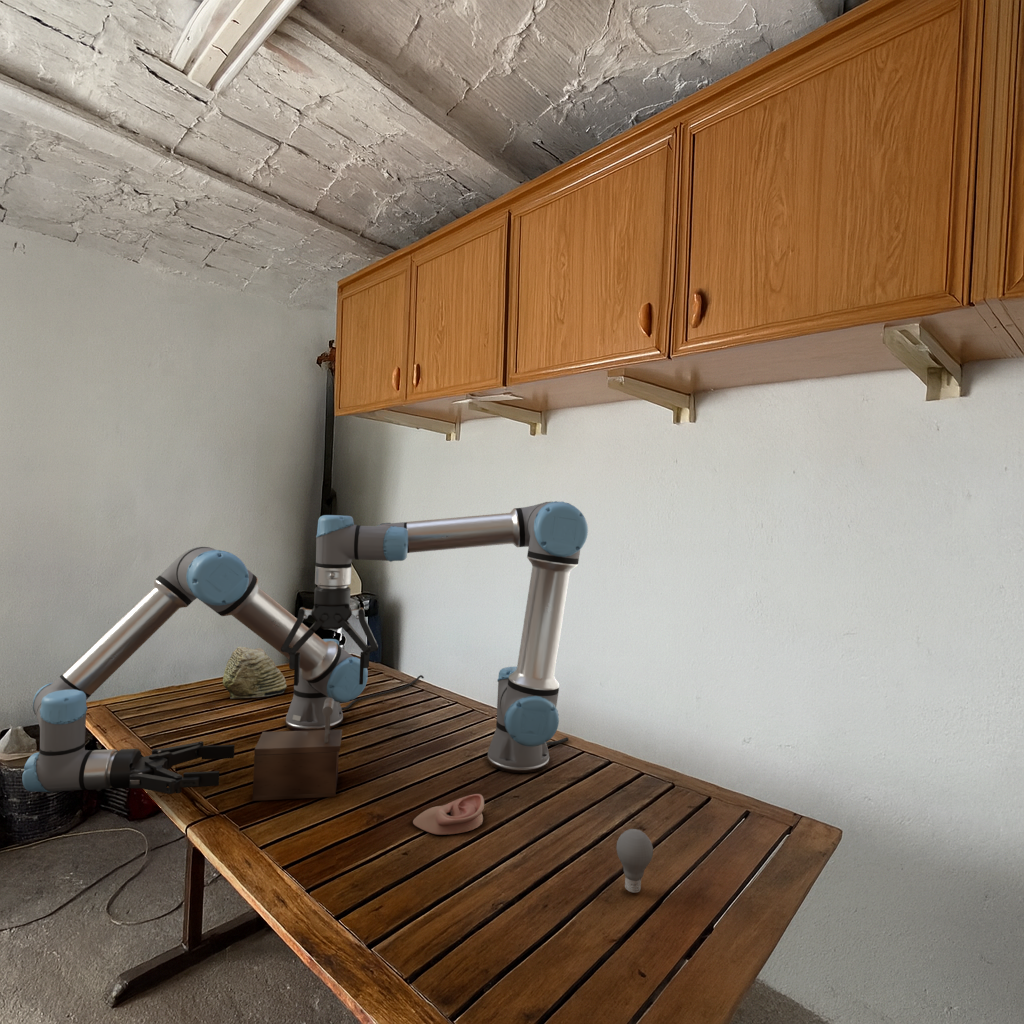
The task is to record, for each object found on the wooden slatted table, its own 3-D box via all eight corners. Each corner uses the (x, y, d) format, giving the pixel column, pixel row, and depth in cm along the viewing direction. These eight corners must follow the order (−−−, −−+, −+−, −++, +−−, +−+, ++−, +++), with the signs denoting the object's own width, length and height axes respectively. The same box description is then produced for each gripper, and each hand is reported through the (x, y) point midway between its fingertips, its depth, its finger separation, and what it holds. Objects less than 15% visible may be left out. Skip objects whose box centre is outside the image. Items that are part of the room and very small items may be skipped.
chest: (337, 776, 144) (339, 735, 143) (335, 796, 134) (337, 752, 134) (260, 780, 140) (262, 737, 140) (252, 801, 131) (254, 755, 130)
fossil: (218, 695, 195) (220, 647, 195) (278, 685, 208) (279, 640, 207) (228, 703, 189) (230, 653, 188) (289, 692, 201) (290, 645, 201)
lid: (342, 734, 144) (343, 694, 143) (339, 751, 134) (341, 708, 134) (262, 737, 140) (264, 696, 140) (254, 755, 130) (255, 711, 130)
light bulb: (610, 879, 108) (613, 822, 108) (644, 879, 109) (647, 822, 109) (619, 902, 102) (622, 840, 102) (655, 901, 103) (658, 840, 103)
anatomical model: (407, 809, 121) (427, 784, 133) (406, 830, 121) (426, 802, 133) (474, 819, 119) (489, 792, 130) (473, 840, 119) (488, 811, 130)
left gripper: (137, 761, 141) (238, 757, 146) (87, 817, 117) (210, 810, 121) (138, 728, 141) (240, 725, 146) (88, 777, 117) (212, 772, 121)
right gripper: (269, 587, 131) (265, 689, 132) (391, 589, 136) (387, 687, 137) (274, 582, 139) (271, 679, 139) (390, 584, 144) (387, 677, 144)
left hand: (227, 764), depth 134 cm, fingers open, 13 cm apart
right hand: (329, 683), depth 138 cm, fingers open, 13 cm apart
